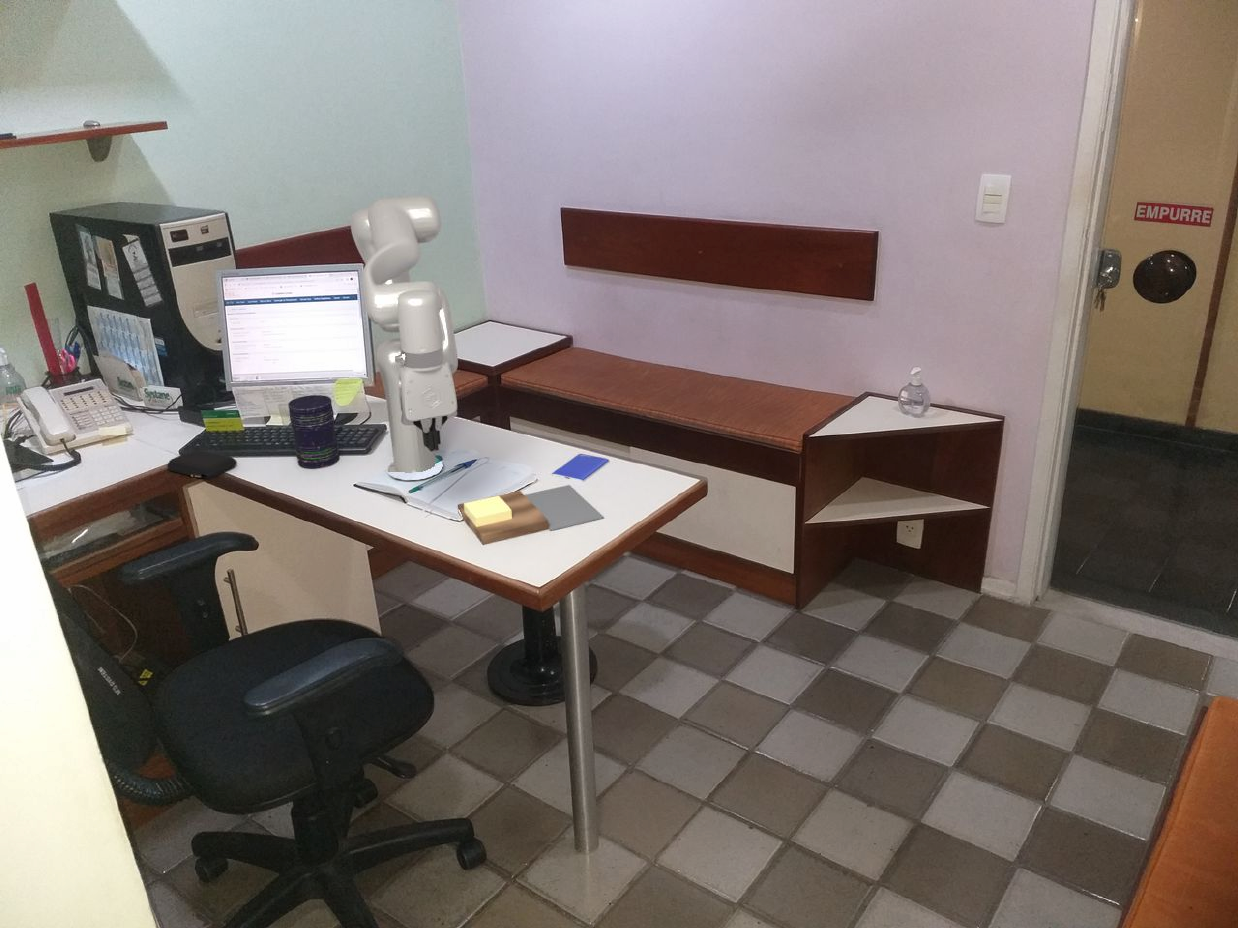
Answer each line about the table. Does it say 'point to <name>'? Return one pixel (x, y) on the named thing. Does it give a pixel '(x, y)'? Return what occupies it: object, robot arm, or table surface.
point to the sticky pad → (487, 511)
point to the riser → (510, 520)
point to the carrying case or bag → (202, 464)
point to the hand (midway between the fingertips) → (432, 448)
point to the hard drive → (580, 468)
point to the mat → (563, 507)
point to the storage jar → (314, 431)
